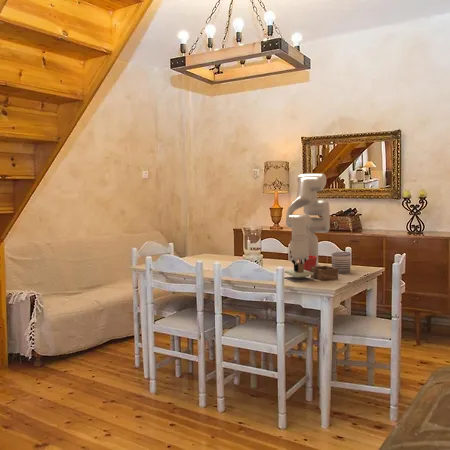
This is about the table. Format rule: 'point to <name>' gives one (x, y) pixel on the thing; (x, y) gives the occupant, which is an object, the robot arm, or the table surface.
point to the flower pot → (310, 263)
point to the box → (324, 273)
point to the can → (341, 262)
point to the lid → (299, 271)
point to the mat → (299, 279)
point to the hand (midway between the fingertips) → (298, 270)
